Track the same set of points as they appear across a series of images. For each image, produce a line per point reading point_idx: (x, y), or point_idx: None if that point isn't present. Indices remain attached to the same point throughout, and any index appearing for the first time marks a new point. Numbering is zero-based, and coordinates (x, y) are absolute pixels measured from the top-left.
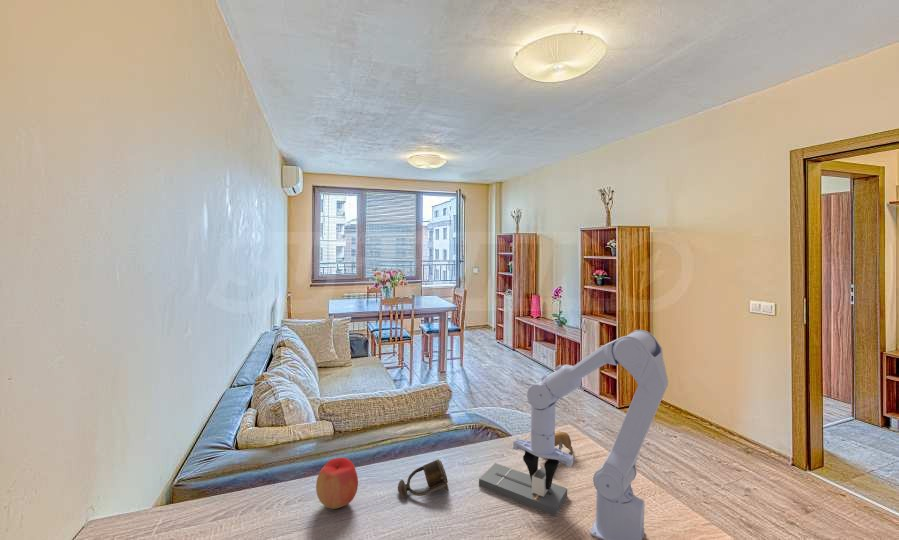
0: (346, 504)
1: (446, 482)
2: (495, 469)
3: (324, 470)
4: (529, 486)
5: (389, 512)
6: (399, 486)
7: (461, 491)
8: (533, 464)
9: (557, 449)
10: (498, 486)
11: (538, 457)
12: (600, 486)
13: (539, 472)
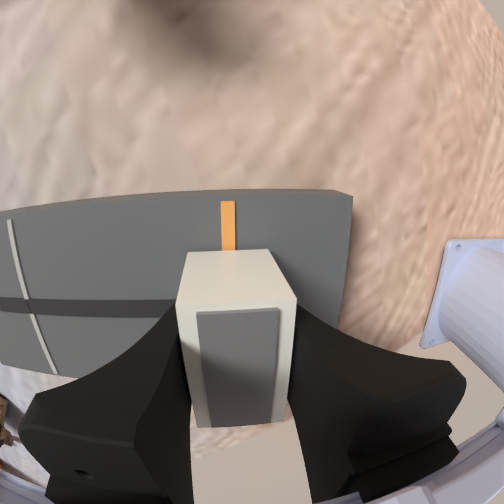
0: (2, 469)
1: (4, 435)
2: None
3: None
4: (160, 316)
5: (27, 462)
6: None
7: (16, 386)
8: (186, 465)
9: (486, 494)
10: (65, 375)
11: (158, 396)
12: None
13: (223, 388)
